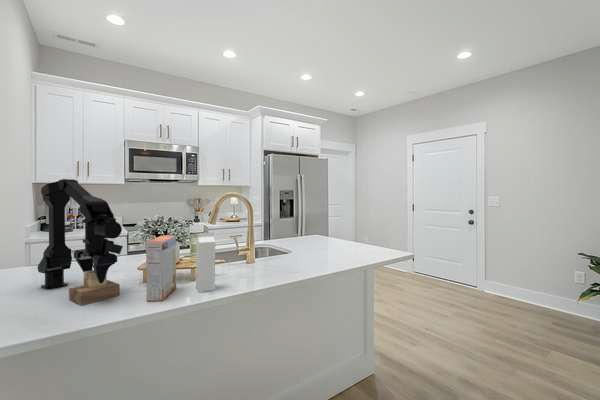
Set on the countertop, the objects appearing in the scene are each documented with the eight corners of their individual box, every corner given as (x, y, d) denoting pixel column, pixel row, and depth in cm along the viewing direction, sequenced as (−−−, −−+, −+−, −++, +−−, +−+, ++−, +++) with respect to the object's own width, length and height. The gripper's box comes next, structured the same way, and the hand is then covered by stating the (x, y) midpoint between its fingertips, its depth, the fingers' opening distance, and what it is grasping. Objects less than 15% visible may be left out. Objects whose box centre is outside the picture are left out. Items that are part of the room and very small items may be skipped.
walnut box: (69, 300, 101) (69, 287, 101) (107, 290, 111) (107, 279, 111) (80, 305, 96) (80, 292, 96) (119, 295, 106) (119, 283, 106)
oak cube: (83, 286, 102) (83, 271, 102) (99, 282, 107) (99, 268, 107) (90, 288, 100) (90, 274, 100) (106, 285, 104) (106, 270, 104)
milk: (214, 290, 113) (215, 233, 113) (198, 292, 110) (199, 234, 110) (211, 286, 118) (212, 231, 118) (195, 288, 116) (196, 232, 115)
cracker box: (160, 288, 114) (161, 234, 114) (176, 288, 115) (177, 234, 114) (144, 301, 100) (145, 240, 100) (163, 301, 101) (163, 240, 100)
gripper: (133, 236, 105) (132, 279, 105) (106, 231, 115) (106, 271, 115) (98, 240, 95) (98, 287, 96) (73, 234, 105) (72, 278, 106)
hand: (95, 280), depth 103 cm, fingers open, 9 cm apart
